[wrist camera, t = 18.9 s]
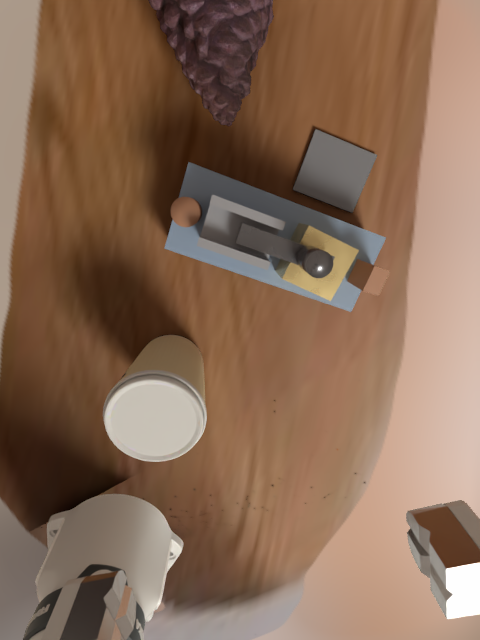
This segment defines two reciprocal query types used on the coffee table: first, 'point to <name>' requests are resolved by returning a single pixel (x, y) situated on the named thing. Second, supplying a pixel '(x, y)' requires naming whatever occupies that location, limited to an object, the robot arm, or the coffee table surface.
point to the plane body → (269, 215)
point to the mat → (334, 171)
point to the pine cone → (216, 47)
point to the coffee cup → (159, 401)
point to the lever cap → (320, 240)
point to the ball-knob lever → (286, 250)
